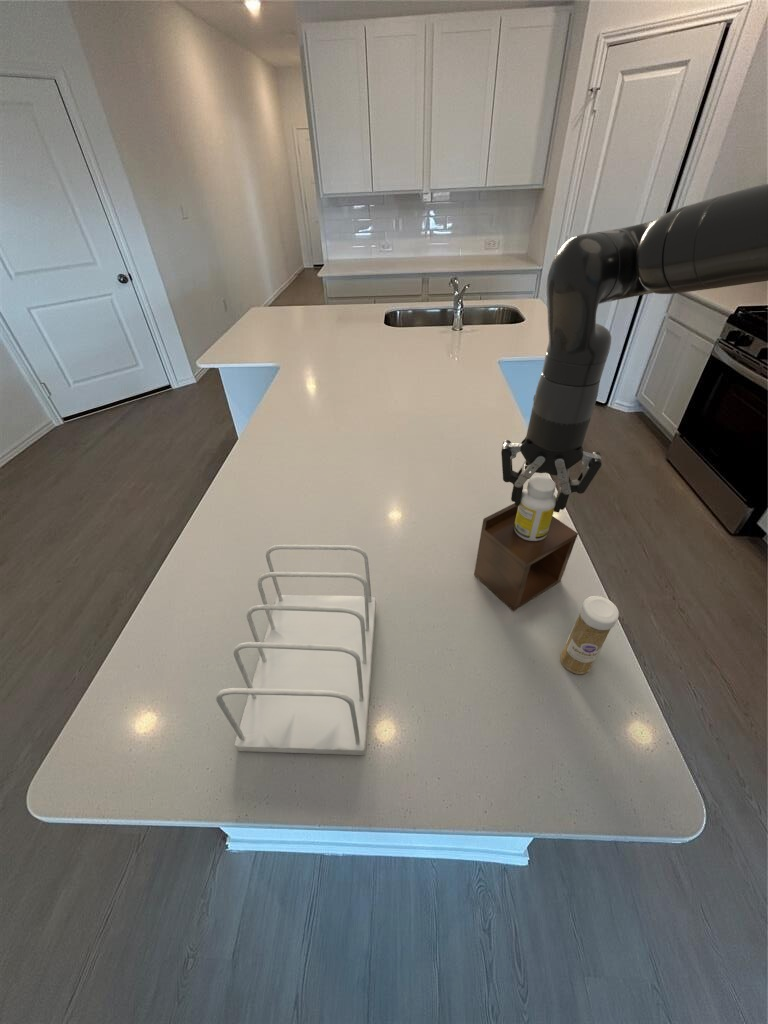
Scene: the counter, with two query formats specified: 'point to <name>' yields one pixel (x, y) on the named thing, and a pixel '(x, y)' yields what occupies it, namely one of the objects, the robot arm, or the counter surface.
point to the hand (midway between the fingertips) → (536, 505)
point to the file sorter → (308, 669)
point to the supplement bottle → (536, 509)
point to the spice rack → (521, 558)
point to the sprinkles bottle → (589, 634)
